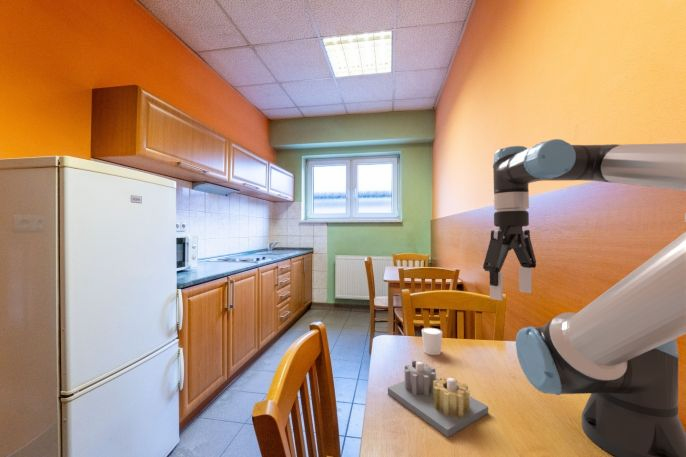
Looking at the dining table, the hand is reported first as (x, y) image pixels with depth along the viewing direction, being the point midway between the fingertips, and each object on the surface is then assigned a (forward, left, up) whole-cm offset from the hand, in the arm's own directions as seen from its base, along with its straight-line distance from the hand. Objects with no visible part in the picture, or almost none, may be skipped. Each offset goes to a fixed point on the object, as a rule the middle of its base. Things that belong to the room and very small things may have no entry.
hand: (511, 295), depth 72 cm
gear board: (+8, +19, -25) cm, 32 cm away
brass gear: (+4, +19, -23) cm, 30 cm away
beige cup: (+28, -3, -25) cm, 38 cm away
